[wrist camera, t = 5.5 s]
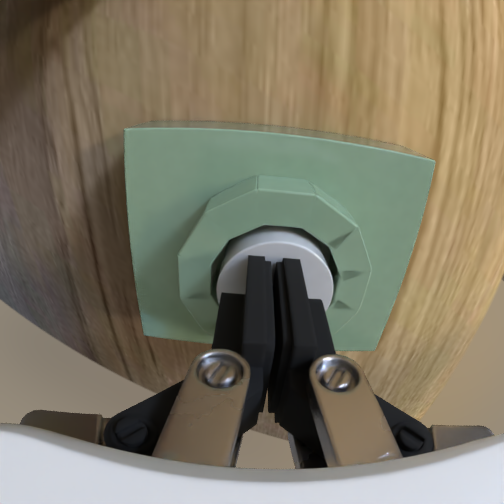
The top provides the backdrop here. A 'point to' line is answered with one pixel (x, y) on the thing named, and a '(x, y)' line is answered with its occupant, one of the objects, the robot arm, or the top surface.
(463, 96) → the top surface
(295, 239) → the grey push button
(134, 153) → the green button base
